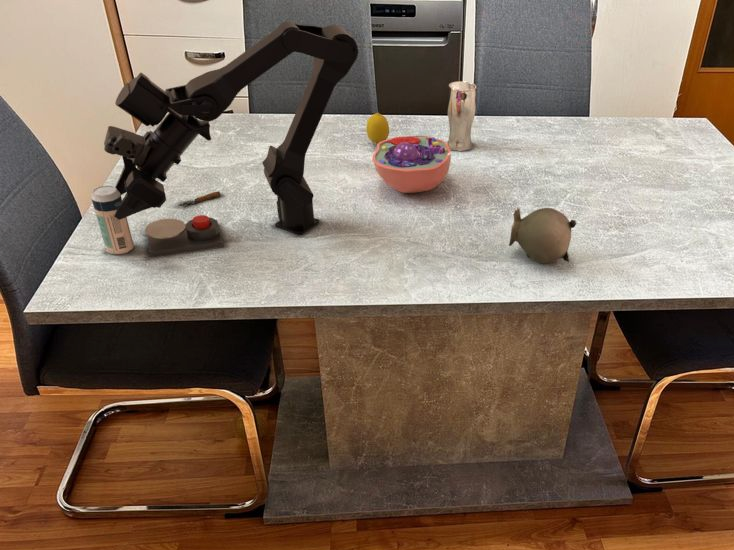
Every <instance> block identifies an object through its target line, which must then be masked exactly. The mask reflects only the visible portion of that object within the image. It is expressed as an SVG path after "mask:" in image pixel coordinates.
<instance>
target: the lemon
mask: <svg viewBox="0 0 734 550" xmlns="http://www.w3.org/2000/svg"><path fill="white" fill-rule="evenodd" d="M365 131H366V135H367V137H368V139H369V140H370V141H371V142H372V143H374V144H375V145H377V144H378V143H379V142H381V141H384V140H387V139H389V138H388V137H389V135H390V125H389V122H388V119H387V118H386V116H384V115H383V114H381V113H379V112H375V113H374V114H372V115H370V117H368V120H367V122H366V128H365Z"/></svg>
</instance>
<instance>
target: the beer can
mask: <svg viewBox="0 0 734 550" xmlns="http://www.w3.org/2000/svg"><path fill="white" fill-rule="evenodd" d="M90 199H91V201H92V206H93V209H94V213H95V217H96V220H97V224H98V227H99V230H100V233H101V237H102V241H103V243H104V247H105V250H106V252H107V253H109V254H112V255H123V254H127V253H129V252H131V251H132V250H133V249H134V247H135V245H134V244H135V243H134V240H133V237H132V233H131V228H130V226H129V225H130V224H129V221H128V217H125V218H123V219H121V220H119V219H117V218H115V217H114V215H115V213H116V211H117V209H118V207H119V205H120V204H121V202H122V200H123V197H122V195H121V194H120V192H119V191H118V190H117V189H116V188H115V186H113V185H102V186H101V185H100V186H98V187H96V188H94V189H92V193H91V197H90Z"/></svg>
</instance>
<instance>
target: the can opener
mask: <svg viewBox="0 0 734 550" xmlns="http://www.w3.org/2000/svg"><path fill="white" fill-rule="evenodd" d="M218 197H221V192H220V191H213V192H210V193H208V194H205V195H203V196H198V197H195V199H193V200H187V201H184V202H181V203H179V204H178V206H181V207H184V205H185V207H187V206H188V205H194V204H195V203H196V204H197V203H202V202H205V201H209V200H212V199H216V198H218Z"/></svg>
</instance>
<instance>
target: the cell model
mask: <svg viewBox="0 0 734 550" xmlns="http://www.w3.org/2000/svg"><path fill="white" fill-rule="evenodd" d="M451 160H452V149H450V148H449V146H448V142H446V141H445V140H443V139H440V138H437V137H434V136H428V135H409V136H406V135H404V136H394V137H391V138H387V139H386V140H384V141H381V142H379V143H378V144H376V150H375V152H374V153H373V154H372V161H373V164H374V169H375V171H376V174H377V175H378V176H379V177H380V178H381V180H382V181H384V183H385V184H386V185H387V186H388V187H390V188H391V189H393V190H395V191H397V192H400V193H402V194H403V193H404V194H413V193H414V194H415V193H422V192H429V191H431V190H434V189H435V188H436V187H438V186H439V185H440V184H441V183H442V182H443V181H444V180H445V179H446V177H447V175H448V173H449V170H450V166H451Z"/></svg>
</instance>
